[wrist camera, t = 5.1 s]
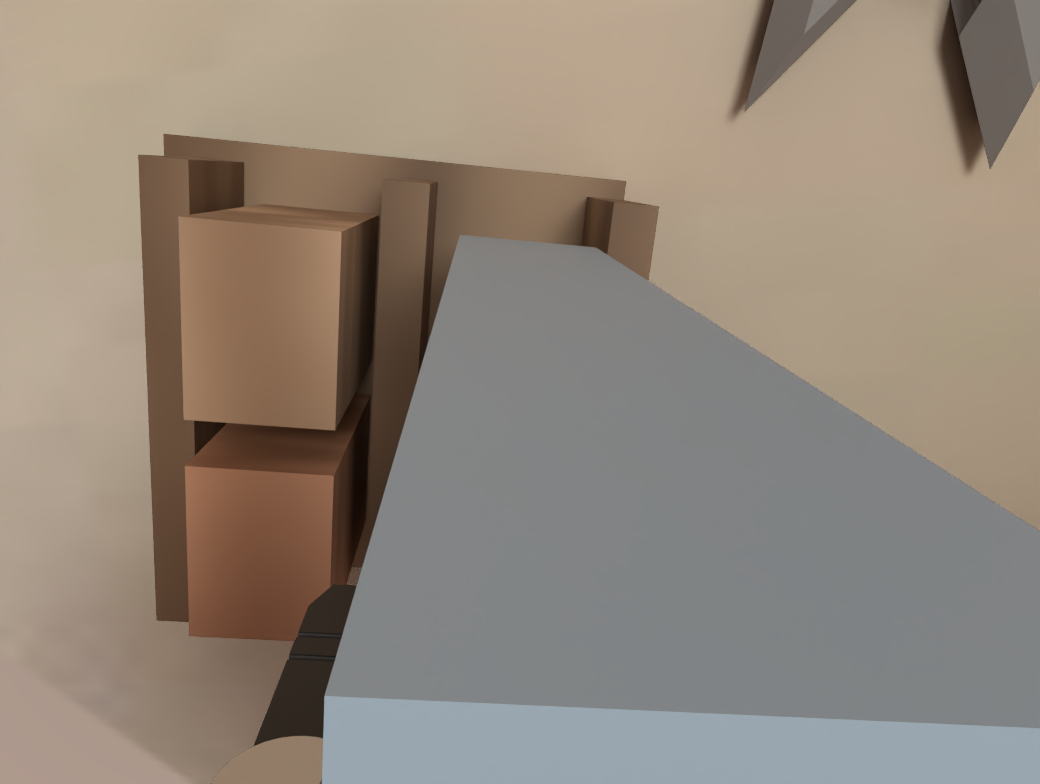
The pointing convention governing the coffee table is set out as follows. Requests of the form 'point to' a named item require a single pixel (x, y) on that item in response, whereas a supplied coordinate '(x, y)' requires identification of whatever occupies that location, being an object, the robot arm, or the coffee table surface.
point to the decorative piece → (984, 42)
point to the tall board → (668, 564)
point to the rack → (399, 279)
